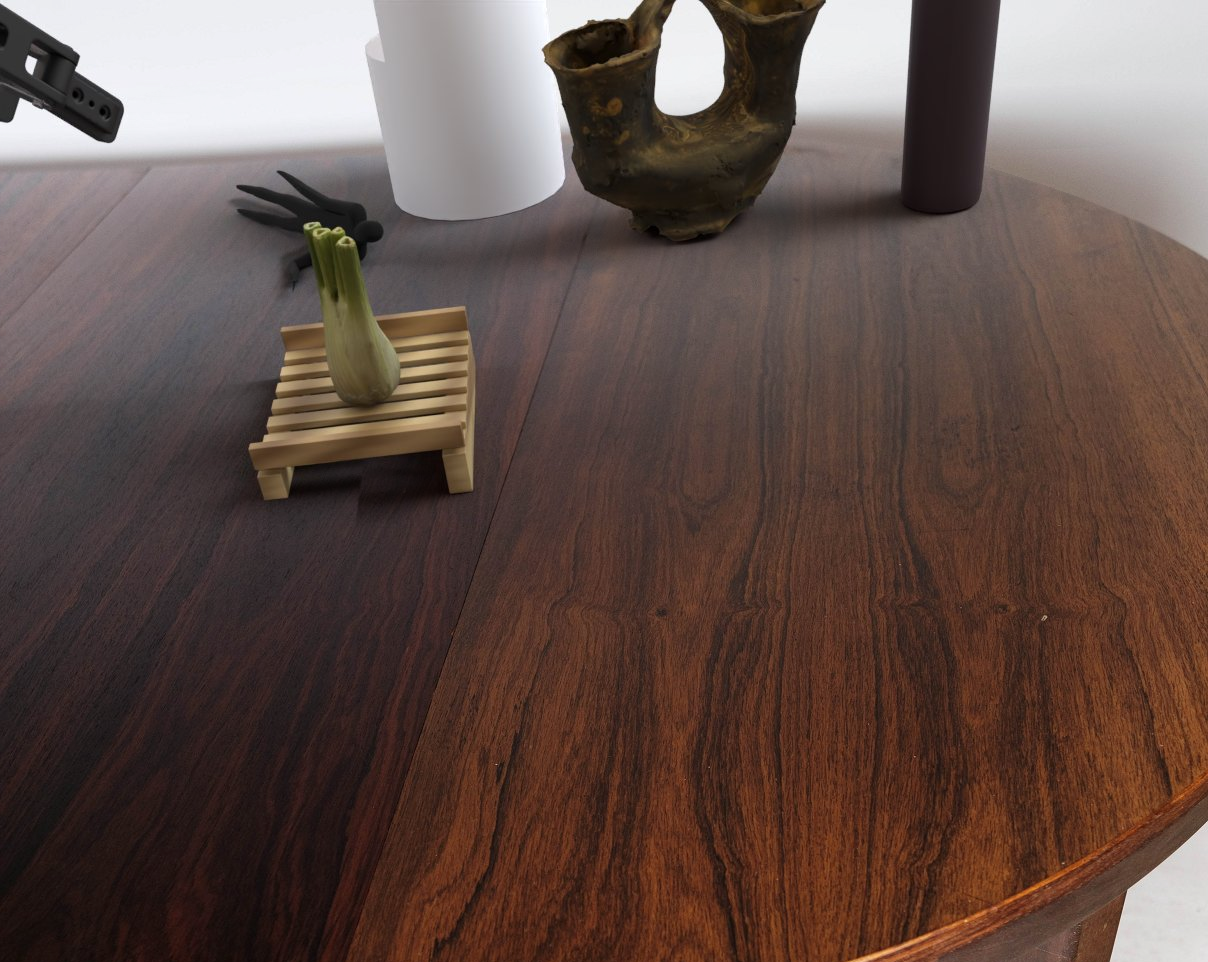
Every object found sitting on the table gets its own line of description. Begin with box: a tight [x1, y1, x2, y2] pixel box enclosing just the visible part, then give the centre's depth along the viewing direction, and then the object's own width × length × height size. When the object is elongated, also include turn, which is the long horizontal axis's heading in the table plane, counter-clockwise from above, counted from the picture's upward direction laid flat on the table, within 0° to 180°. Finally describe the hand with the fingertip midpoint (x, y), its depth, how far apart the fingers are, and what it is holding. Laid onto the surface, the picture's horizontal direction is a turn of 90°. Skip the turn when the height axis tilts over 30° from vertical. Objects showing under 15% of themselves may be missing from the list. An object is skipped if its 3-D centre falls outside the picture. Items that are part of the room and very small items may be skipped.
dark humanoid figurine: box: [235, 169, 385, 293], centre depth 120 cm, size 8×9×25 cm
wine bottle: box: [900, 0, 1002, 214], centre depth 107 cm, size 7×7×30 cm
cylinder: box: [364, 0, 566, 222], centre depth 121 cm, size 17×17×28 cm
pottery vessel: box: [542, 0, 827, 242], centre depth 112 cm, size 25×11×20 cm, turn 112°
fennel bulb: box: [303, 222, 401, 407], centre depth 88 cm, size 6×5×12 cm
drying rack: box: [248, 305, 477, 501], centre depth 93 cm, size 14×18×5 cm
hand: (63, 115), depth 67 cm, fingers open, 8 cm apart
